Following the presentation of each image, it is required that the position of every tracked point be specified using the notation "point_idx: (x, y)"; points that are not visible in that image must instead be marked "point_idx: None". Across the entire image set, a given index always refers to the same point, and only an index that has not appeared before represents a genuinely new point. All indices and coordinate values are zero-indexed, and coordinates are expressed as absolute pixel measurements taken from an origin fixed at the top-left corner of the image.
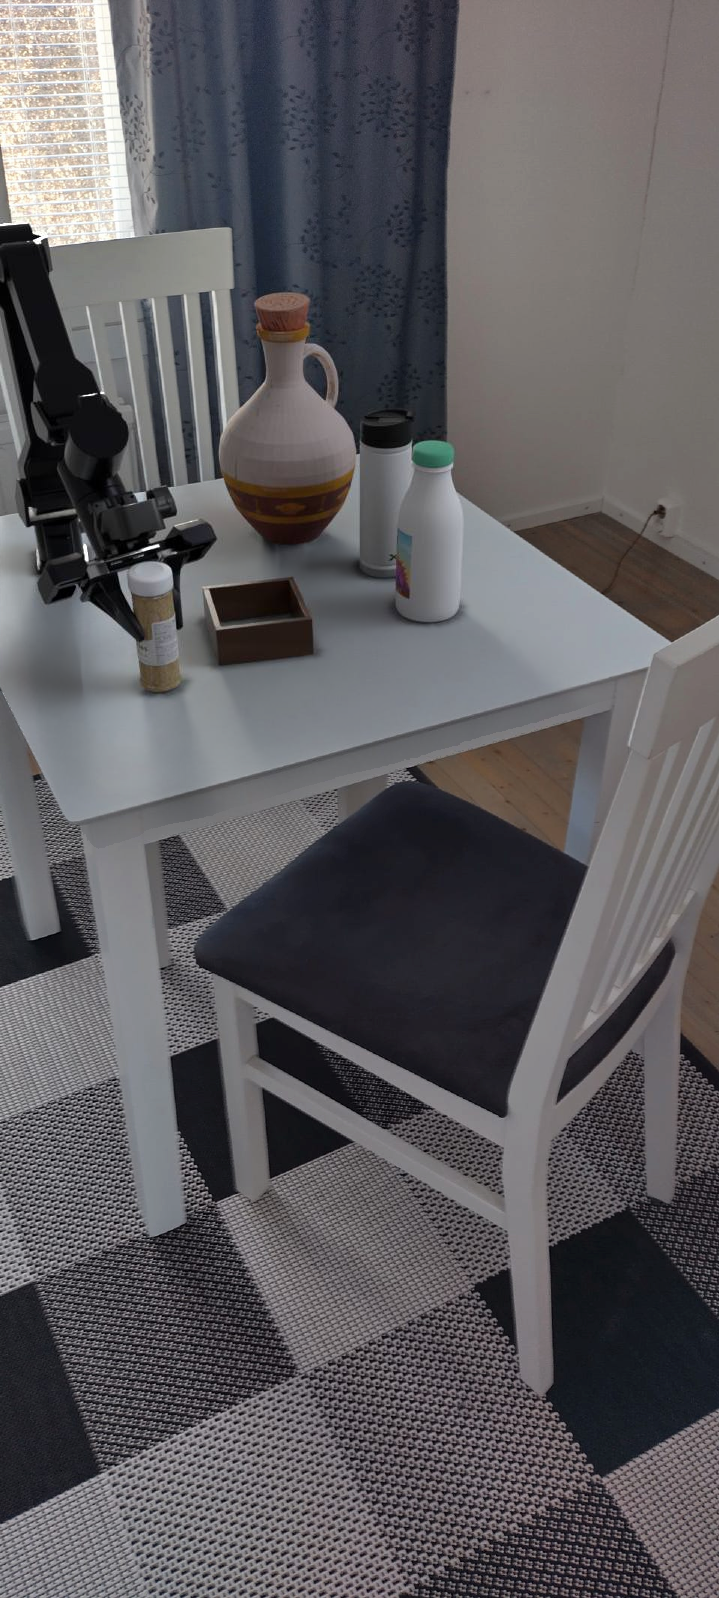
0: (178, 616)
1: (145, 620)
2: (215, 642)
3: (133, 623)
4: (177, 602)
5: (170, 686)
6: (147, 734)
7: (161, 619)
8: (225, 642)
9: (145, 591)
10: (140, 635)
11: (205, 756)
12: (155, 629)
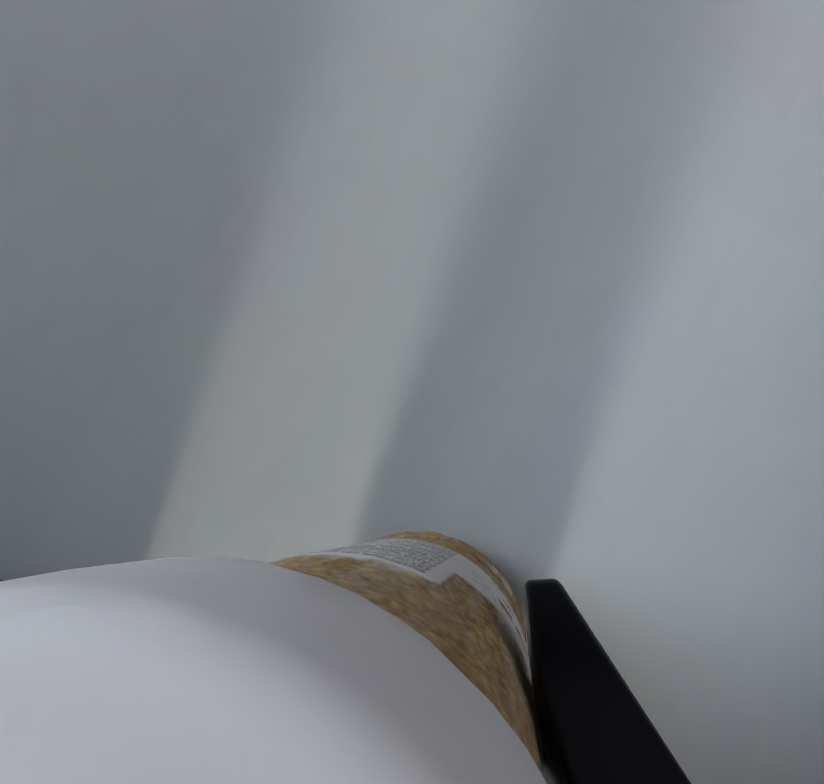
0: None
1: (482, 635)
2: None
3: (602, 689)
4: None
5: (411, 535)
6: (652, 270)
7: (332, 562)
8: None
9: (426, 661)
10: (554, 600)
11: (507, 21)
12: (417, 562)
